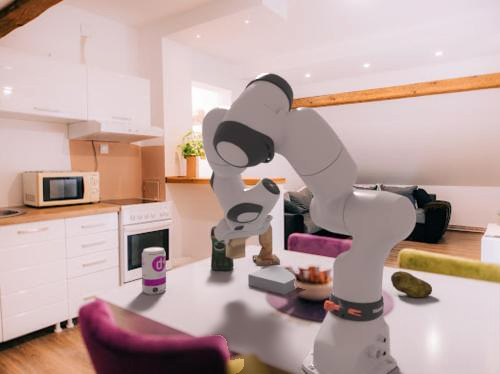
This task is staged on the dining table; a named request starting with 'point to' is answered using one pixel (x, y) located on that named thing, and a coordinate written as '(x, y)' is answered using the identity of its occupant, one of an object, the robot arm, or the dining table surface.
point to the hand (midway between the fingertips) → (234, 241)
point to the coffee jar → (219, 254)
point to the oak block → (236, 248)
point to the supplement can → (153, 270)
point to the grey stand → (273, 279)
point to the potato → (410, 284)
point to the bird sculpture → (266, 250)
